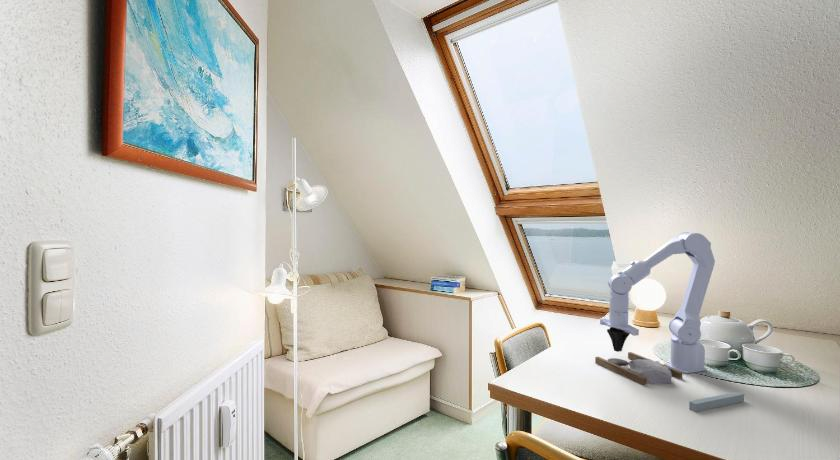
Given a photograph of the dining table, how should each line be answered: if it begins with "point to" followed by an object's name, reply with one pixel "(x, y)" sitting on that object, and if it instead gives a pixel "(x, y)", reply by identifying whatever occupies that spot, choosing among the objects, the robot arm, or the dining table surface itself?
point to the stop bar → (716, 401)
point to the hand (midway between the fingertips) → (617, 350)
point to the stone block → (651, 371)
